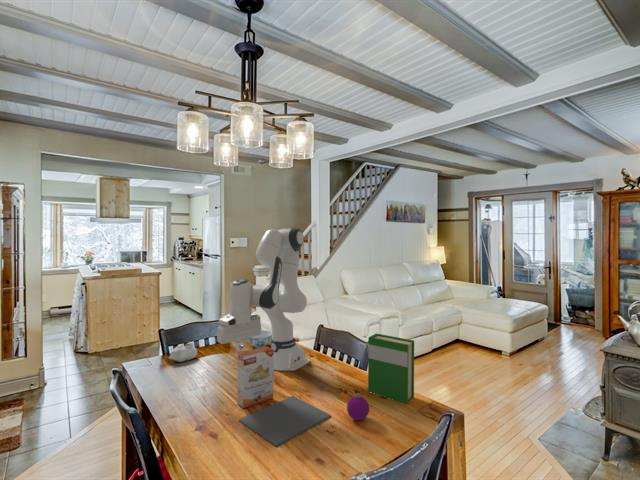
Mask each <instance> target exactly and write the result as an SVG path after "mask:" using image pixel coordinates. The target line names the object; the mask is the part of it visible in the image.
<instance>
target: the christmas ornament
mask: <svg viewBox="0 0 640 480" xmlns="http://www.w3.org/2000/svg"><path fill="white" fill-rule="evenodd" d="M346 412H347V414H348V415H349V418H351V419H353V420H354V421H362V420H364V419H366V417H368V416H369V412H370V405H369V402H368V400H367V399H366V398H364V397H363V396H361V394H360V393H356V394H355V395H354V396H353V397H350V399H348V401H347V405H346Z"/></svg>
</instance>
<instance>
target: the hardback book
mask: <svg viewBox="0 0 640 480" xmlns="http://www.w3.org/2000/svg"><path fill="white" fill-rule="evenodd" d="M367 341H368V344H367V345H368V348H367V349H368V350H367V352H368V356H367V357H368V358H367V359H368V361H367V362H368V363H367V365H368V367H367V371H368V373H367V374H368V376H367V379H368V380H367V381H368V382H367V388H368V389H367V392H368V391H369V392H372V393H375V394H378V395H382V396H385V397H387V398H386V399H388V398H390V399H389V400H391V399H393V400H392V401H396V402H398V403H402V404H404V403H405V405H408V404H409V400H410V398H411V399H414V398H415V340H414V339H407V338H402V337H397V336H392V335H387V334H381V333H374V334H373V335H370V336H369V337H368V340H367ZM372 393H371V394H372ZM375 394H374V395H375ZM378 395H377V396H378ZM385 397H384V398H385Z"/></svg>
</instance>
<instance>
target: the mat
mask: <svg viewBox="0 0 640 480" xmlns="http://www.w3.org/2000/svg"><path fill="white" fill-rule="evenodd" d="M331 417H332V415H331V413H328V412H325V411H324V410H321V409H320V408H318V407H316V406H314V405H312V404H310V403H308V402H307V401H304V400H302V399H300V398H298V397H296V396H294V395H292V396H288V397H287V398H284V399H282V400H280V401H278V402H274V403H273V404H271V405H268V406H266V407H264V408H261V409H259V410H257V411H255V412H252V413H250V414H247V415H245V416H243V417H240V418H238V422H240V423H241V424H243V425H244V426H245V427H247V428H248V429H250V430H252V432H254V433H255V434H257V435H258V436H259V437H261V438H262V439H264V440H265V441H266V442H269V444H271V445H273V446H274V447H275V448H276V447H279V446H281V445H282V444H284V443H286V442H287V441H290V440H291V439H294V438H296V437H297V436H299V435H300V434H302V433H305V432H307V431H308V430H310V429H311V428H313V427H315V426H317V425H319V424H320V423H323V422H324V421H326V420H328V419H330V418H331Z"/></svg>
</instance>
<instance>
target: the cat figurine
mask: <svg viewBox="0 0 640 480" xmlns="http://www.w3.org/2000/svg"><path fill="white" fill-rule="evenodd" d="M196 356H198V349H197V348H196V347H194V343H192V342H186V343H184V345H183V344H177V346H175V347H174V349H173V350H171V352H170V355H169V356H168V359H170V360H174V361H175V362H178V363H179V362H180V363H182V362H185V361H191V360H192V359H194V358H195V357H196Z"/></svg>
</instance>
